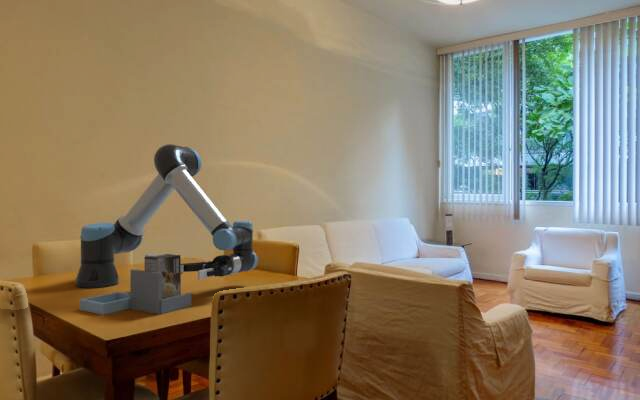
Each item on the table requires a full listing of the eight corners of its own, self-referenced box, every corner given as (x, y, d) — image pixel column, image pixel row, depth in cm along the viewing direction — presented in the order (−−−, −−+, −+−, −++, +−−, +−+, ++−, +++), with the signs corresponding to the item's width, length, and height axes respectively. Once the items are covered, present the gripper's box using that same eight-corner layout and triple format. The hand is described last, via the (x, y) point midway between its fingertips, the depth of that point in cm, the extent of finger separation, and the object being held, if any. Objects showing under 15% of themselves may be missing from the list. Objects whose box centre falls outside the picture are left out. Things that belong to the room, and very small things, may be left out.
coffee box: (167, 302, 152) (168, 253, 151) (181, 305, 148) (181, 255, 148) (143, 308, 144) (144, 256, 144) (157, 311, 140) (157, 258, 140)
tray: (79, 309, 141) (79, 299, 141) (118, 301, 153) (118, 291, 153) (103, 314, 136) (103, 304, 135) (141, 305, 147) (141, 295, 147)
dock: (129, 308, 143) (129, 269, 143) (161, 300, 154) (161, 264, 154) (159, 314, 136) (160, 273, 136) (191, 305, 147) (191, 268, 147)
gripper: (253, 278, 165) (212, 288, 147) (200, 272, 177) (156, 280, 159) (253, 257, 165) (212, 264, 147) (200, 252, 177) (156, 258, 159)
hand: (183, 273), depth 153 cm, fingers open, 13 cm apart
